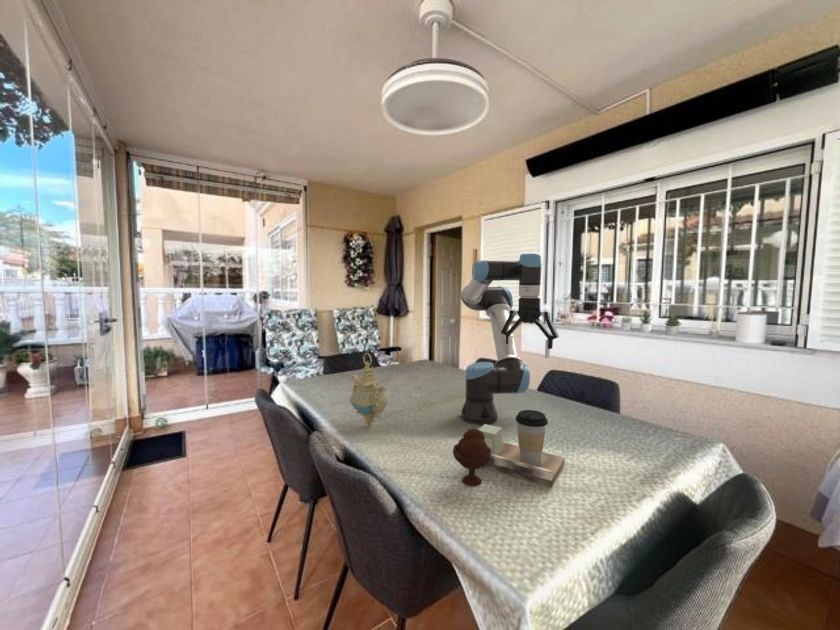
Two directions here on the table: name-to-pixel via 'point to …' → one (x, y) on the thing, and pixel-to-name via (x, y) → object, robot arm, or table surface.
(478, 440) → the ice cream bowl
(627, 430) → the table surface
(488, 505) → the table surface
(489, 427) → the pale green box
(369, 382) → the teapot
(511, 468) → the shelf board
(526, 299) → the robot arm
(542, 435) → the coffee cup
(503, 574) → the table surface
